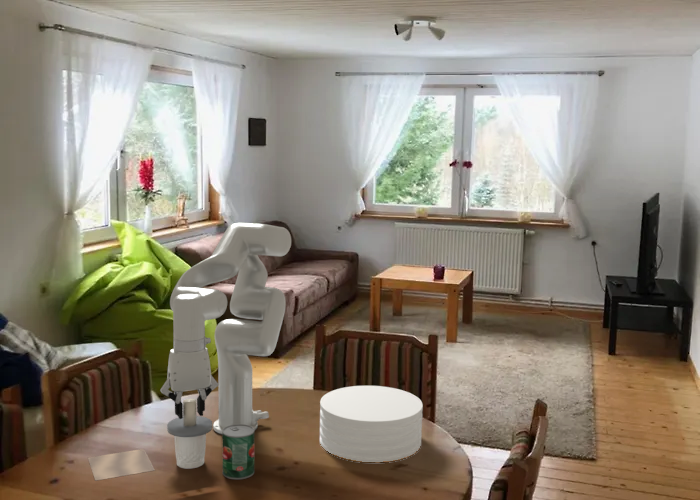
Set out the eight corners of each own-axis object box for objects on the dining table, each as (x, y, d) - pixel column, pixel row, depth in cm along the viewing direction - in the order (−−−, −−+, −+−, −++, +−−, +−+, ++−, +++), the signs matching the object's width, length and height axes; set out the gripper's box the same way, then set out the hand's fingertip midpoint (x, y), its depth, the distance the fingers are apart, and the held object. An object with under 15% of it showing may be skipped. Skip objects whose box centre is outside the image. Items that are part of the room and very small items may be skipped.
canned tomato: (260, 473, 185) (261, 431, 183) (233, 482, 179) (233, 439, 178) (242, 462, 190) (243, 421, 189) (216, 471, 185) (216, 429, 184)
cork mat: (144, 452, 195) (144, 448, 195) (155, 474, 183) (155, 470, 183) (87, 461, 189) (87, 457, 189) (95, 484, 177) (95, 480, 177)
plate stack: (399, 419, 223) (400, 382, 222) (437, 457, 197) (439, 415, 195) (308, 428, 215) (308, 389, 213) (336, 469, 188) (337, 426, 187)
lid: (205, 417, 194) (205, 391, 192) (217, 432, 184) (217, 404, 183) (162, 424, 189) (162, 396, 188) (173, 440, 179) (172, 411, 178)
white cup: (199, 474, 183) (198, 436, 182) (169, 471, 185) (168, 432, 183) (211, 461, 191) (211, 424, 189) (182, 458, 192) (181, 421, 191)
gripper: (218, 337, 190) (218, 406, 193) (151, 344, 183) (152, 415, 185) (227, 344, 183) (227, 415, 186) (157, 352, 176) (159, 425, 179)
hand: (190, 414), depth 186 cm, fingers open, 4 cm apart
